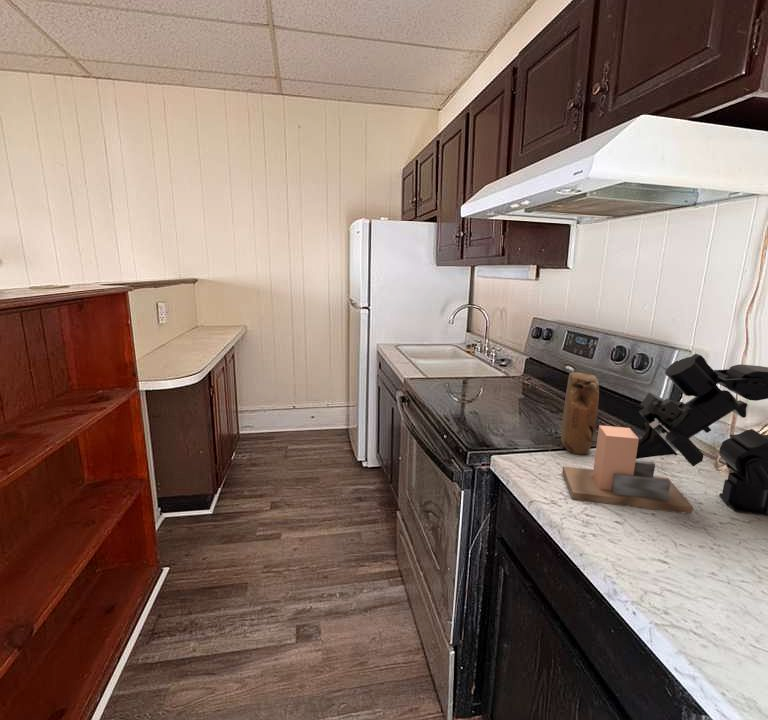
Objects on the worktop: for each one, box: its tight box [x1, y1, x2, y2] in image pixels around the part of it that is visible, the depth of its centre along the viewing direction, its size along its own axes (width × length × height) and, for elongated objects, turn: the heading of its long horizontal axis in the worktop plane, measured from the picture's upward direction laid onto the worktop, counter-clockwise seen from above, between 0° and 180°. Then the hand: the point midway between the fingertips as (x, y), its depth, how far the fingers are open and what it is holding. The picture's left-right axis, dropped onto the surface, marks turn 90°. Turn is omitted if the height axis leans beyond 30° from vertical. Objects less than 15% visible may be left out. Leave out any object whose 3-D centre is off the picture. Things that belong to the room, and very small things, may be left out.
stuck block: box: [592, 425, 640, 490], centre depth 90 cm, size 6×6×12 cm
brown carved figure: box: [560, 371, 600, 455], centre depth 111 cm, size 11×8×20 cm
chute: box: [562, 459, 694, 514], centre depth 90 cm, size 22×12×6 cm, turn 77°
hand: (631, 456), depth 89 cm, fingers closed, pressing on stuck block
